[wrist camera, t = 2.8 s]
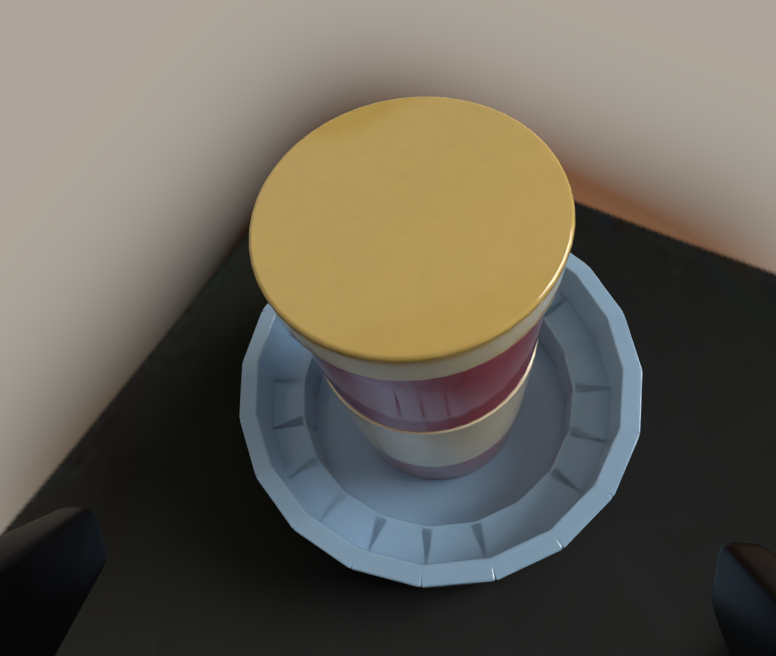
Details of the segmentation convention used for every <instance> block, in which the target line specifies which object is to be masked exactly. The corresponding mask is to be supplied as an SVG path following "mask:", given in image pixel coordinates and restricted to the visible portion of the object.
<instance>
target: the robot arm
mask: <svg viewBox="0 0 776 656" xmlns="http://www.w3.org/2000/svg"><path fill="white" fill-rule="evenodd" d="M105 560H106V547H105V543H104V539H103V536H102V532H101V528H100V524H99V521H98V517H97V514H96V513H95V511H94V510H93V509H91V508H88V507H73V506H69V507H63V508H61V509H59V510H56V511H54V512H52V513H50V514H48V515H45V516H43V517H41V518H39V519H37V520H34V521H32V522H30V523H28V524H26V525H23V526H21V527H19V528H17V529H15V530H12V531H10V532H8V533H6V534H4V535H1V536H0V656H55V654H56V652H57V651H58V649H59V647H60V645H61V643H62V642H63V640H64V638H65V636H66V634H67V633H68V631H69V629H70V627H71V625H72V623H73V622H74V620H75V618H76V616H77V614H78V612H79V611H80V609H81V607H82V605H83V603H84V601H85V600H86V598H87V596H88V594H89V592H90V591H91V589H92V587H93V585H94V583H95V581H96V580H97V578H98V576H99V574H100V572H101V570H102V568H103V566H104V563H105ZM712 604H713V608H714V612H715V615H716V618H717V621H718V624H719V627H720V629H721V632H722V635H723V638H724V641H725V644H726V647H727V649H728V652H729V655H730V656H776V555H775V554H774V553H772V552H771V551H769V550H768V549H766V548H764V547H762V546H761V545H758V544H751V543H732V542H728V543H725V544H723V545H722V547H721V548H720V551H719V555H718V561H717V566H716V572H715V577H714V583H713V588H712Z"/></svg>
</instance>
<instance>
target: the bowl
mask: <svg viewBox="0 0 776 656" xmlns="http://www.w3.org/2000/svg"><path fill="white" fill-rule="evenodd" d="M641 396H642V368H641V365H640V362H639V359H638V356H637V353H636V350H635V347H634V344H633V341H632V338H631V335H630V331H629V328H628V325H627V322H626V319H625V316H624V314H623V311H622V310H621V309H620V307H619V306H618V305H617V303H616V302H615V301H614V299H613V298H612V297H611V295H610V294H609V293H608V291H607V290H606V289H605V287H604V286H603V285H602V283H601V282H600V281H599V279H598V278H597V277H596V275H595V274H594V272H593V271H592V270H591V268H590V267H588V266H587V265H586V264H585V263H584V262H582V261H581V260H580V259H578V258H577V257H575V256H574V255H573V254H571V253H570V255H569V258H568V261H567V265H566V268H565V271H564V274H563V277H562V280H561V283H560V286H559V289H558V291H557V293H556V295H555V297H554V299H553V301H552V303H551V305H550V306H549V308H548V309H547V310H546V312H545V314H544V318H543V322H542V325H541V329H540V333H539V336H538V343H537V349H536V354H535V358H534V362H533V365H532V369H531V372H530V376H529V379H528V383H527V386H526V390H525V393H524V397H523V400H522V403H521V406H520V409H519V412H518V414H517V416H516V420H515V423H514V426H513V429H512V432H511V434H510V436H509V438H508V440H507V442H506V443H505V445H504V446H503V448H502V449H501V451H500V452H499V453H498V454H497V455H496V456H495V457H494V458H493V459H492V460H491V461H489V462H488V463H487V464H486V465H484V466H483V467H481V468H479V469H478V470H476V471H474V472H472V473H470V474H467V475H465V476H461V477H458V478H454V479H447V480H428V479H421V478H417V477H413V476H410V475H408V474H405V473H403V472H401V471H399V470H397V469H395V468H394V467H392V466H391V465H389V464H388V463H387V462H385V461H384V460H383V459H382V458H381V457H380V456H379V455H378V454H377V453H376V452H375V450H374V449H373V448H372V446H371V445H370V444H369V442H368V441H367V439H366V438H365V437H364V436H363V435H362V433H361V432H360V430H359V429H358V428H357V426H356V425H355V423H354V422H353V420H352V419H351V417H350V416H349V414H348V413H347V411H346V410H345V408H344V407H343V405H342V404H341V402H340V401H339V399H338V398H337V396H336V395H335V393H334V392H333V390H332V389H331V387H330V385H329V383H328V382H327V380H326V378H325V376H324V373H323V372H322V370H321V369H320V367H319V365H318V364H317V362H316V361H315V359H314V358H313V356H312V355H311V353H310V352H309V350H307V349H306V348H305V347H303V346H302V345H301V344H300V343H299V342H298V341H297V340H296V339H295V338H294V337H293V336H292V335H291V334H290V333H289V331H288V330H287V329H286V327H285V326H284V325H283V323H282V322H281V321H280V319H279V318H278V316H277V315H276V313H275V312H274V310H273V309H272V307H271V306H270V305H269V303H268V304H267V305H266V306H265V308H264V309H263V312H262V313H261V315H260V318H259V320H258V323H257V326H256V328H255V331H254V334H253V336H252V339H251V341H250V344H249V347H248V349H247V352H246V355H245V357H244V360H243V363H242V379H241V398H240V417H239V418H240V423H241V426H242V430H243V433H244V437H245V441H246V444H247V448H248V451H249V455H250V458H251V462H252V465H253V469H254V472H255V475H256V478H257V480H258V481H259V483H260V484H261V485H262V487H263V488H264V490H265V491H266V492H267V494H268V495H269V497H270V498H271V499H272V501H273V502H274V504H275V505H276V507H277V508H278V509H279V511H280V512H281V514H282V515H283V516H284V518H285V519H286V521H287V522H288V523H289V525H290V526H291V528H292V529H294V531H295V532H297V533H298V534H300V535H301V536H303V537H304V538H306V539H307V540H308V541H310V542H311V543H313V544H314V545H316V546H317V547H319V548H320V549H321V550H323V551H324V552H326V553H327V554H329V555H330V556H332V557H333V558H334V559H336V560H337V561H339V562H340V563H342V564H343V565H345V566H346V567H347V568H350V569H352V570H355V571H359V572H362V573H366V574H370V575H374V576H377V577H381V578H385V579H389V580H393V581H396V582H400V583H404V584H408V585H411V586H415V587H420V588H429V589H434V588H445V587H456V586H467V585H479V584H489V583H491V582H495V581H497V580H500V579H502V578H504V577H506V576H508V575H510V574H512V573H514V572H516V571H519V570H521V569H523V568H525V567H527V566H529V565H531V564H533V563H535V562H538V561H540V560H542V559H544V558H546V557H548V556H550V555H552V554H554V553H557V552H559V551H561V550H562V549H563V548H565V547H566V546H567V545H568V544H569V543H570V542H571V541H572V540H573V539H574V538H575V537H576V536H577V535H578V534H579V533H580V532H581V531H582V529H583V528H584V527H585V526H586V525H587V524H588V523H589V522H590V521H591V520H592V519H593V518H594V517H595V516H596V515H597V514H598V513H599V512H600V511H601V510H602V509H603V508H604V507H605V506H606V505H607V504H608V503H609V502H610V500H611V499H612V497H613V496H614V495H615V493H616V490H617V488H618V486H619V483H620V481H621V479H622V476H623V474H624V472H625V469H626V467H627V465H628V462H629V460H630V457H631V455H632V453H633V450H634V448H635V446H636V443H637V441H638V439H639V434H640V424H641Z"/></svg>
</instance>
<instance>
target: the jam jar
mask: <svg viewBox="0 0 776 656" xmlns="http://www.w3.org/2000/svg"><path fill="white" fill-rule="evenodd" d="M574 232H575V205H574V200H573V195H572V190H571V187H570V185H569V182H568V179H567V176H566V174H565V172H564V170H563V169H562V166H561V165H560V163H559V161H558V159H557V158H556V156H555V155H554V154H553V152H552V151H551V150H550V149H549V147H548V146H547V145H546V144H545V143H544V142H543V141H542V140H541V139H540V138H539V137H538V136H537V135H536V134H535V133H534V132H532V131H531V130H530V129H528V128H527V127H526V126H524V125H523V124H521V123H520V122H519V121H517V120H515V119H513V118H511V117H510V116H508V115H506V114H504V113H502V112H499V111H497V110H495V109H492V108H490V107H487V106H484V105H480V104H477V103H473V102H470V101H465V100H459V99H454V98H444V97H407V98H398V99H392V100H387V101H382V102H377V103H374V104H370V105H367V106H363V107H360V108H357V109H355V110H352V111H350V112H347V113H345V114H342V115H340V116H338V117H336V118H334V119H332V120H330V121H328V122H327V123H325V124H323V125H322V126H320V127H318V128H317V129H315V130H314V131H312V132H311V133H309V134H308V135H307V136H305V137H304V138H303V139H302V140H300V141H299V142H298V143H297V144H296V145H295V146H293V148H291V149H290V150H289V151H288V153H286V154H285V155H284V156H283V158H282V159H281V160H280V161H279V162H278V164H277V165H276V166H275V167H274V168H273V170H272V172H271V173H270V175H269V176H268V178H267V179H266V181H265V182H264V185H263V186H262V189H261V191H260V193H259V195H258V197H257V200H256V203H255V206H254V209H253V212H252V216H251V223H250V229H249V253H250V259H251V266H252V269H253V272H254V275H255V278H256V281H257V284H258V285H259V287H260V289H261V291H262V293H263V295H264V297H265V299H266V300H267V302H268V303H269V305H270V306H271V307H272V309H273V310H274V312H275V313H276V315H277V316H278V318H279V319H280V321H281V322H282V323H283V325H284V326H285V327H286V329H287V330H288V331H289V333H290V334H291V335H292V336H293V337H294V338H295V339H296V340H297V341H298V342H299V343H300V344H301V345H302V346H303V347H305V348H306V349H307V350H309V352H310V353H311V355H312V356H313V358H314V359H315V361H316V362H317V364H318V365H319V367H320V369H321V370H322V372H323V373H324V376H325V378H326V380H327V382H328V383H329V385H330V387H331V389H332V390H333V392H334V393H335V395H336V396H337V398H338V399H339V401H340V402H341V404H342V405H343V407H344V408H345V410H346V411H347V413H348V414H349V416H350V417H351V419H352V420H353V422H354V423H355V425H356V426H357V428H358V429H359V430H360V432H361V433H362V435H363V436H364V437H365V438H366V439H367V441H368V442H369V444H370V445H371V446H372V448H373V449H374V450H375V452H376V453H377V454H378V455H379V456H380V457H381V458H382V459H383V460H384V461H385V462H387V463H388V464H389V465H391V466H392V467H394V468H395V469H397V470H399V471H401V472H403V473H405V474H408V475H410V476H413V477H417V478H421V479H428V480H447V479H454V478H458V477H461V476H465V475H467V474H470V473H472V472H474V471H476V470H478V469H479V468H481V467H483V466H484V465H486V464H487V463H488V462H489V461H491V460H492V459H493V458H494V457H495V456H496V455H497V454H498V453H499V452H500V451H501V449H502V448H503V446H504V445H505V443H506V442H507V440H508V438H509V436H510V434H511V432H512V429H513V426H514V423H515V420H516V416H517V414H518V412H519V409H520V406H521V403H522V400H523V397H524V393H525V390H526V386H527V383H528V379H529V376H530V372H531V369H532V365H533V362H534V358H535V354H536V349H537V343H538V336H539V333H540V329H541V325H542V322H543V318H544V314H545V312H546V310H547V309H548V308H549V306H550V305H551V303H552V301H553V299H554V297H555V295H556V293H557V291H558V289H559V286H560V283H561V280H562V277H563V274H564V271H565V268H566V265H567V261H568V258H569V255H570V251H571V248H572V244H573V238H574Z"/></svg>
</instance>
